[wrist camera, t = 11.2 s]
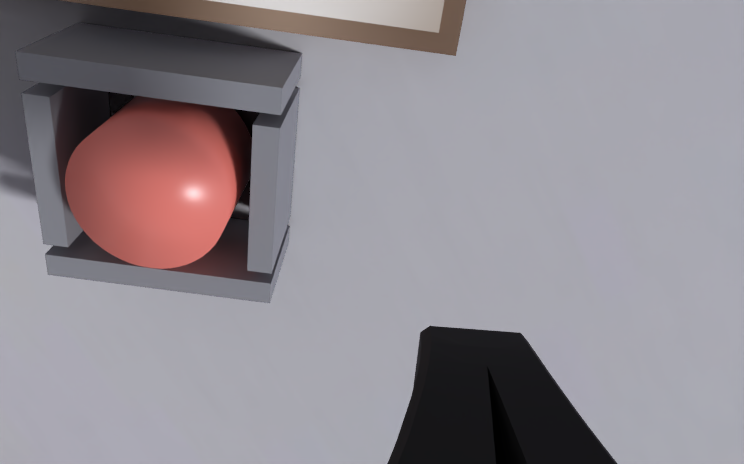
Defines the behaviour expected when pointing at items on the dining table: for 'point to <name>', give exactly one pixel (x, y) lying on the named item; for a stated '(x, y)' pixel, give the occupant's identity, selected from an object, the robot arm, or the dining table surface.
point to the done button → (160, 180)
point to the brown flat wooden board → (326, 18)
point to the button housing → (177, 83)
